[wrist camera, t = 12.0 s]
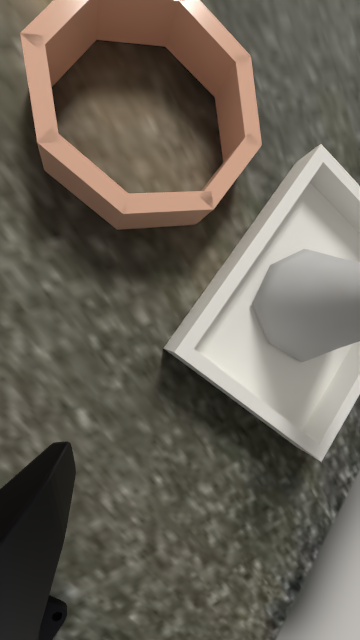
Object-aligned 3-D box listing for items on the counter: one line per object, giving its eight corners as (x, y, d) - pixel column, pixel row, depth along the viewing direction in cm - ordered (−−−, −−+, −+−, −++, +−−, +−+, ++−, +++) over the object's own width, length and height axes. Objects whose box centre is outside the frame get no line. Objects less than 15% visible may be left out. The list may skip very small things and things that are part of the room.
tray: (296, 446, 23) (321, 461, 20) (163, 348, 20) (174, 352, 18) (399, 270, 26) (432, 265, 23) (295, 162, 23) (320, 144, 20)
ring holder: (163, 267, 20) (176, 258, 17) (-13, 123, 17) (-33, 84, 14) (266, 131, 22) (293, 102, 19) (123, -18, 19) (130, -77, 16)
